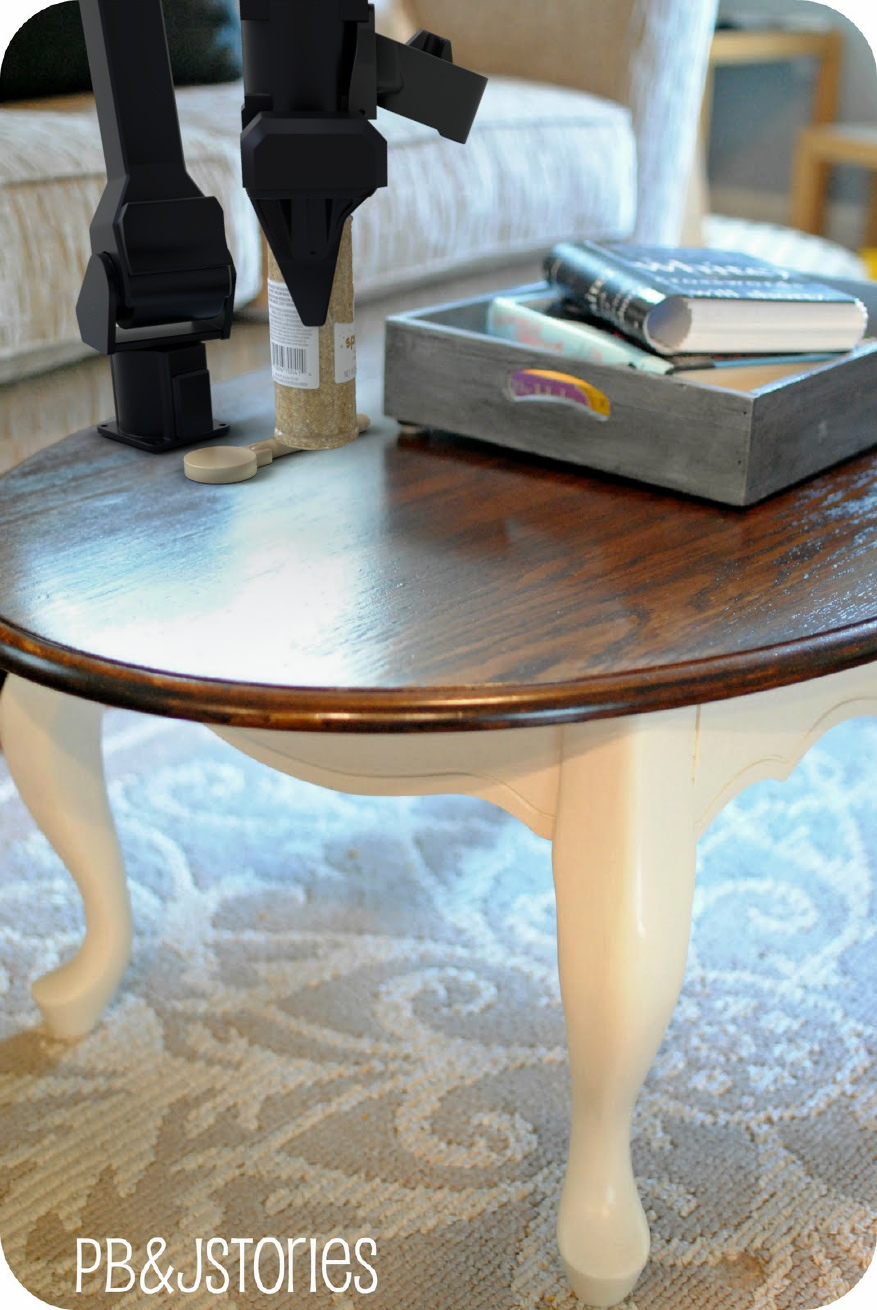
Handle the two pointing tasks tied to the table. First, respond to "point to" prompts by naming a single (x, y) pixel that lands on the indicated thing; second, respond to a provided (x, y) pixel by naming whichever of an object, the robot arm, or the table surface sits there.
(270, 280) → the sprinkles bottle
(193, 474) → the wooden spoon
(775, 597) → the table surface
